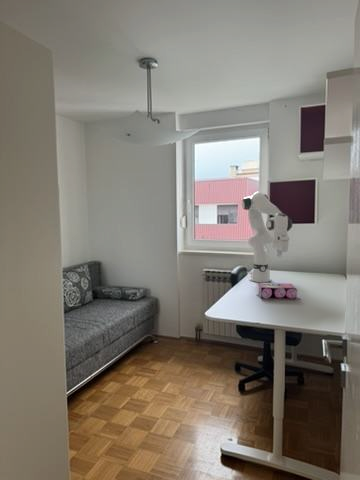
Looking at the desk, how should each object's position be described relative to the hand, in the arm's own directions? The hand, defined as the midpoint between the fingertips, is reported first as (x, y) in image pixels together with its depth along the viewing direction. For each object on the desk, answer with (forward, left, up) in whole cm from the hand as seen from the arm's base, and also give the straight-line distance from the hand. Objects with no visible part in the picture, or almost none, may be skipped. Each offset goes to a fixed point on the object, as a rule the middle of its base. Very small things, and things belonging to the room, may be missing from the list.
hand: (279, 256), depth 230 cm
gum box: (+4, -4, -22) cm, 23 cm away
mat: (+11, -4, -26) cm, 29 cm away
